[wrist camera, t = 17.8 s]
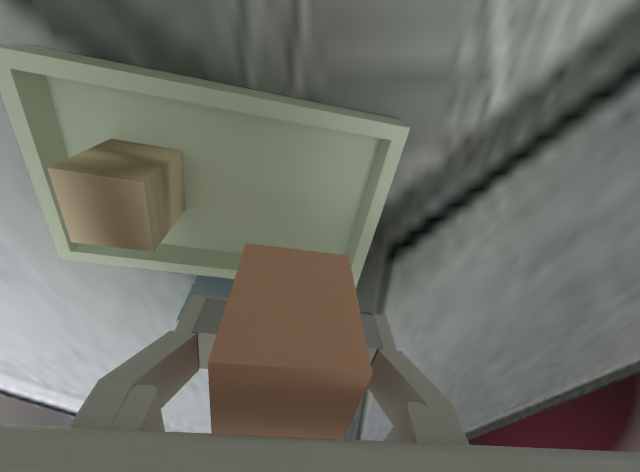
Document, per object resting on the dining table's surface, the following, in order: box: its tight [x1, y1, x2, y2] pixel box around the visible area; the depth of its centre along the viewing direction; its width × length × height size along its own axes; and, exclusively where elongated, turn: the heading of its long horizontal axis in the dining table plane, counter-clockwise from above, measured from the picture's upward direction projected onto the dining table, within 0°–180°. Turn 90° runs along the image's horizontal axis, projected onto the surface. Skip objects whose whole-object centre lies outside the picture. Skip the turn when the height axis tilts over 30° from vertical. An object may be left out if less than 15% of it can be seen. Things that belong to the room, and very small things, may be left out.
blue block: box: [177, 275, 234, 325], centre depth 23 cm, size 4×4×5 cm
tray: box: [0, 44, 410, 289], centre depth 18 cm, size 20×12×3 cm, turn 79°
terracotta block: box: [208, 243, 373, 439], centre depth 10 cm, size 4×4×5 cm
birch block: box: [47, 139, 186, 252], centre depth 16 cm, size 4×4×5 cm
